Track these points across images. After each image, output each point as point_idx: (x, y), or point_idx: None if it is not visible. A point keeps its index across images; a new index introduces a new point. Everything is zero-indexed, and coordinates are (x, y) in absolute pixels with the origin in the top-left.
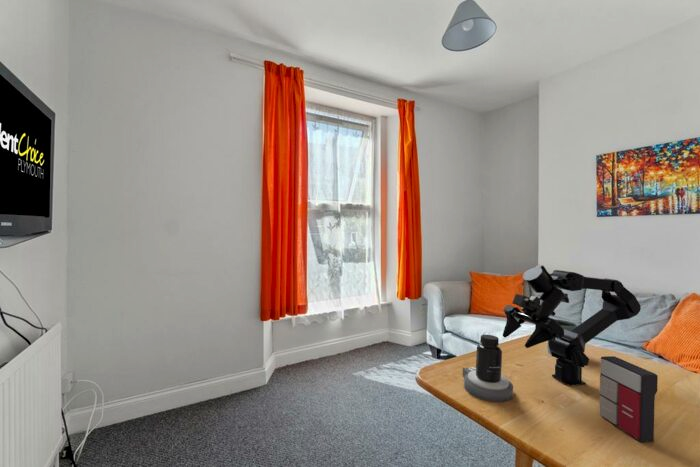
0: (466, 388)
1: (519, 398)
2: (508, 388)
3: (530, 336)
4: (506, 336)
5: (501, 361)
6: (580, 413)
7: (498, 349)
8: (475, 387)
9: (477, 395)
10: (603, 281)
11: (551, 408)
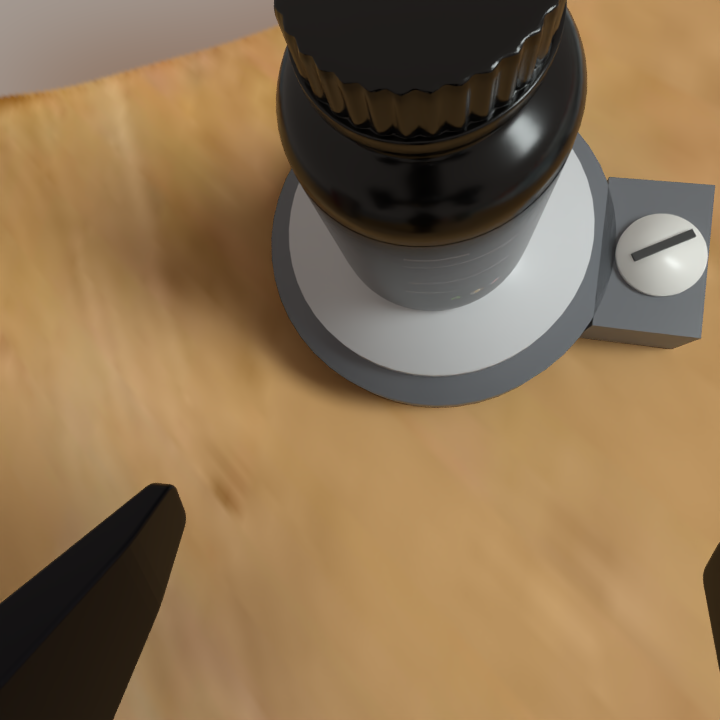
0: None
1: (292, 380)
2: (305, 303)
3: (39, 634)
4: (711, 612)
5: (326, 225)
6: None
7: (297, 117)
8: None
9: None
10: None
11: (149, 476)
